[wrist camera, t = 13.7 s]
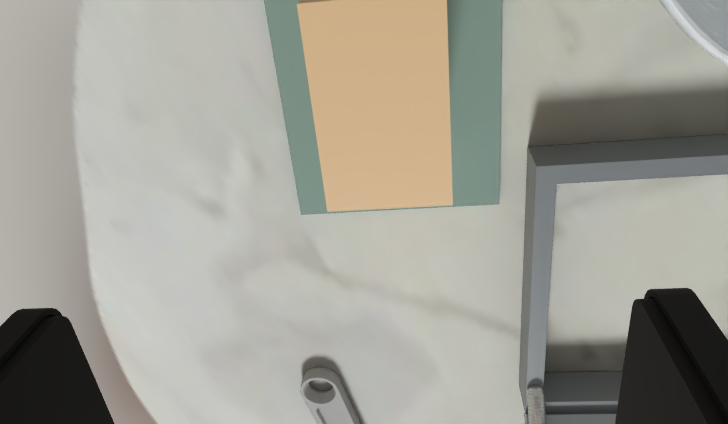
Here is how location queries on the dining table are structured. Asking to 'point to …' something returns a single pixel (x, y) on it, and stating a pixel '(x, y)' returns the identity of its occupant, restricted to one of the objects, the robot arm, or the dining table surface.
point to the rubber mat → (467, 102)
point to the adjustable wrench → (327, 398)
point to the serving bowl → (703, 23)
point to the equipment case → (544, 170)
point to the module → (380, 101)
